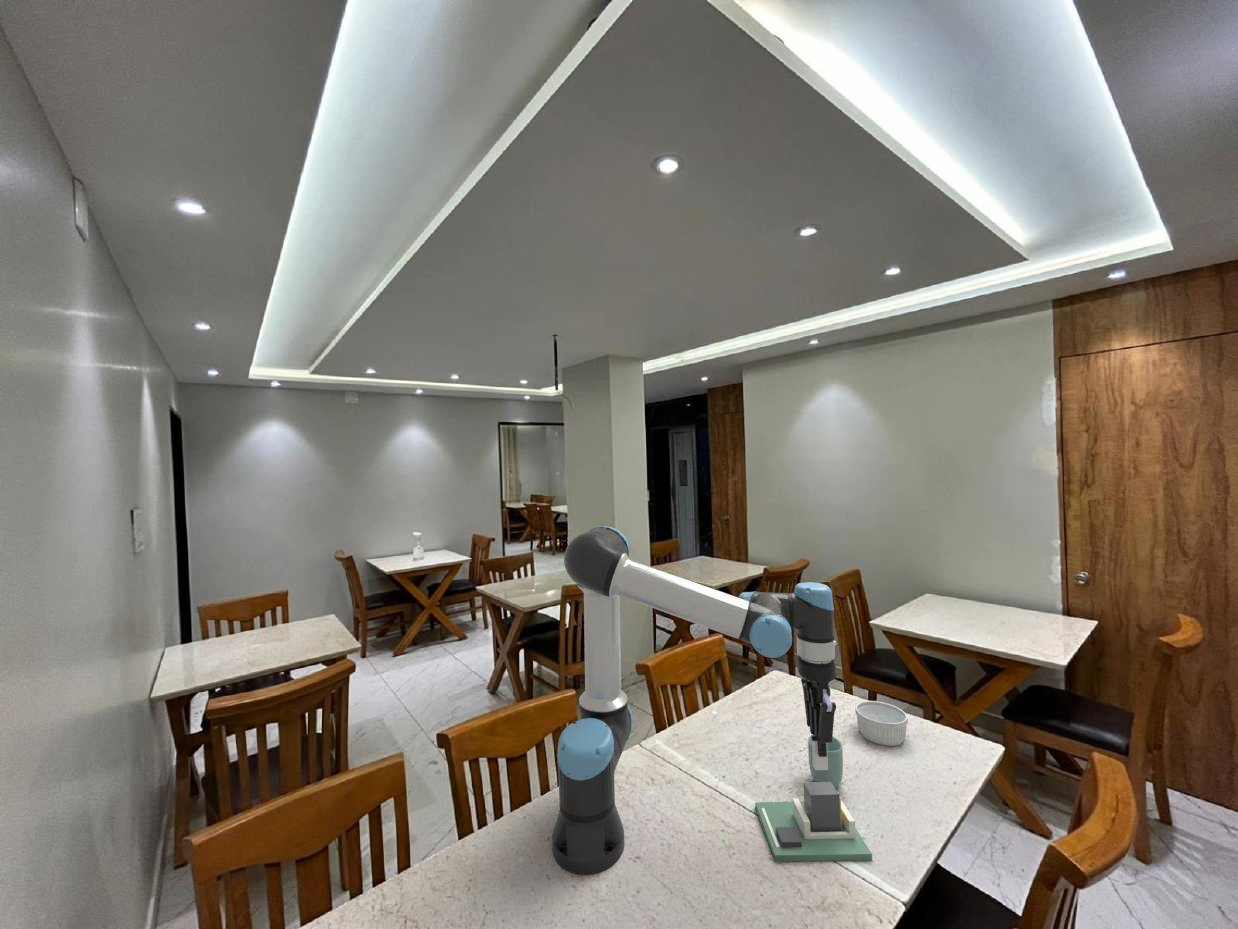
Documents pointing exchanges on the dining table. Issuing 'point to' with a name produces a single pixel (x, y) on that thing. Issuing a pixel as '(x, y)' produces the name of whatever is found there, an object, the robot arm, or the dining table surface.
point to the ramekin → (881, 722)
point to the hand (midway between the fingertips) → (820, 768)
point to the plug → (822, 806)
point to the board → (808, 835)
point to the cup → (829, 763)
